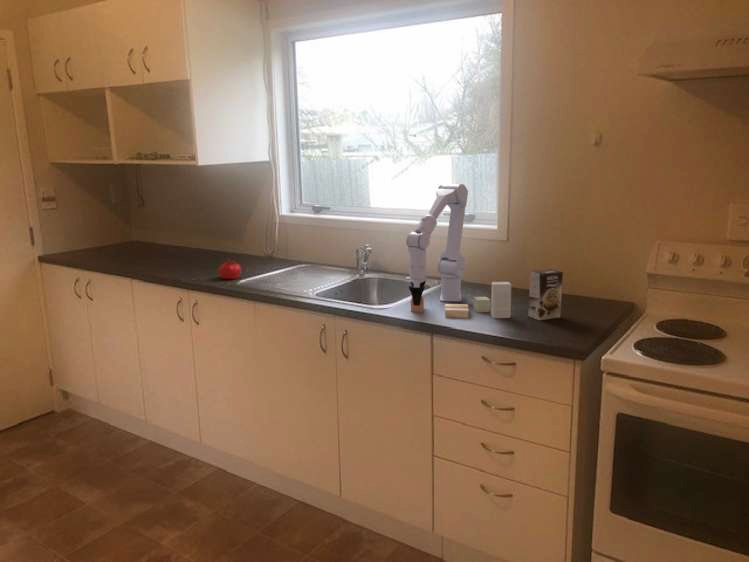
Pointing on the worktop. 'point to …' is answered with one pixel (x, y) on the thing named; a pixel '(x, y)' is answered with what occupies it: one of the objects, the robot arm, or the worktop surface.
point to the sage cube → (481, 304)
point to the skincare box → (501, 300)
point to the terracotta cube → (418, 308)
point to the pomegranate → (230, 270)
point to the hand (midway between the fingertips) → (417, 302)
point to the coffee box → (545, 294)
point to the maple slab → (456, 310)
